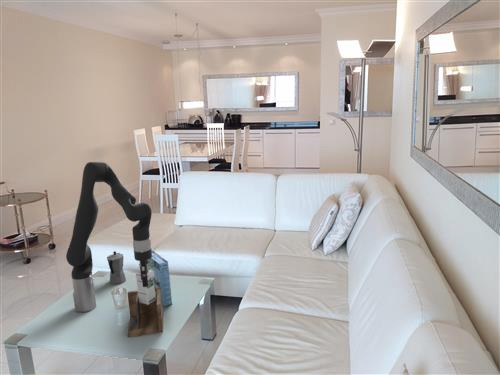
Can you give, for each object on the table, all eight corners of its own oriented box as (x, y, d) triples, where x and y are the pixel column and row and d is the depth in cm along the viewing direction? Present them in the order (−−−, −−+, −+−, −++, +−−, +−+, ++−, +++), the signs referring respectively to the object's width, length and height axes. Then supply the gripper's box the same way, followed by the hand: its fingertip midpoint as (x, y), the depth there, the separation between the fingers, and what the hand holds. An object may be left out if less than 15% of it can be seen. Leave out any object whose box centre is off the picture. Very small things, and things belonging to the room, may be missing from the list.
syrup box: (148, 305, 175) (145, 274, 171) (138, 302, 177) (135, 272, 174) (157, 299, 179) (154, 269, 176) (147, 296, 182) (144, 267, 179)
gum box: (172, 304, 198) (168, 261, 193) (162, 307, 195) (158, 264, 190) (157, 289, 214) (153, 250, 209) (148, 292, 211) (144, 252, 206)
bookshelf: (127, 337, 171) (124, 308, 168) (130, 317, 187) (127, 291, 184) (162, 332, 174) (160, 304, 171) (163, 313, 190) (160, 287, 187)
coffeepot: (113, 276, 232) (110, 247, 228) (129, 275, 232) (126, 246, 228) (104, 288, 217) (100, 258, 213) (121, 288, 217) (118, 257, 213)
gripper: (134, 243, 179) (138, 276, 182) (132, 255, 165) (136, 290, 169) (151, 241, 180) (154, 274, 184) (150, 253, 167) (154, 288, 170)
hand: (145, 282), depth 176 cm, fingers closed on syrup box, 8 cm apart
